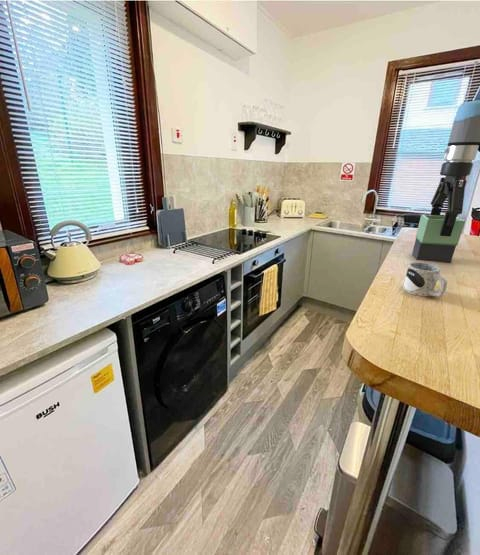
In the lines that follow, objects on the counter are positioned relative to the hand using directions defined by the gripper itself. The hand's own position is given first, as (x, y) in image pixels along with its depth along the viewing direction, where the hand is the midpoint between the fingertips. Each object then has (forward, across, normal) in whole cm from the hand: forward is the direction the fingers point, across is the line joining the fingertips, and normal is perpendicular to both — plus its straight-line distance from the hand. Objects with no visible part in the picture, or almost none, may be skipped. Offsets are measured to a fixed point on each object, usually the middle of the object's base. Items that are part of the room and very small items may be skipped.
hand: (437, 231), depth 91 cm
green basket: (+3, 0, 0) cm, 3 cm away
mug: (+10, +32, -10) cm, 35 cm away
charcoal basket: (+9, 0, 0) cm, 9 cm away
